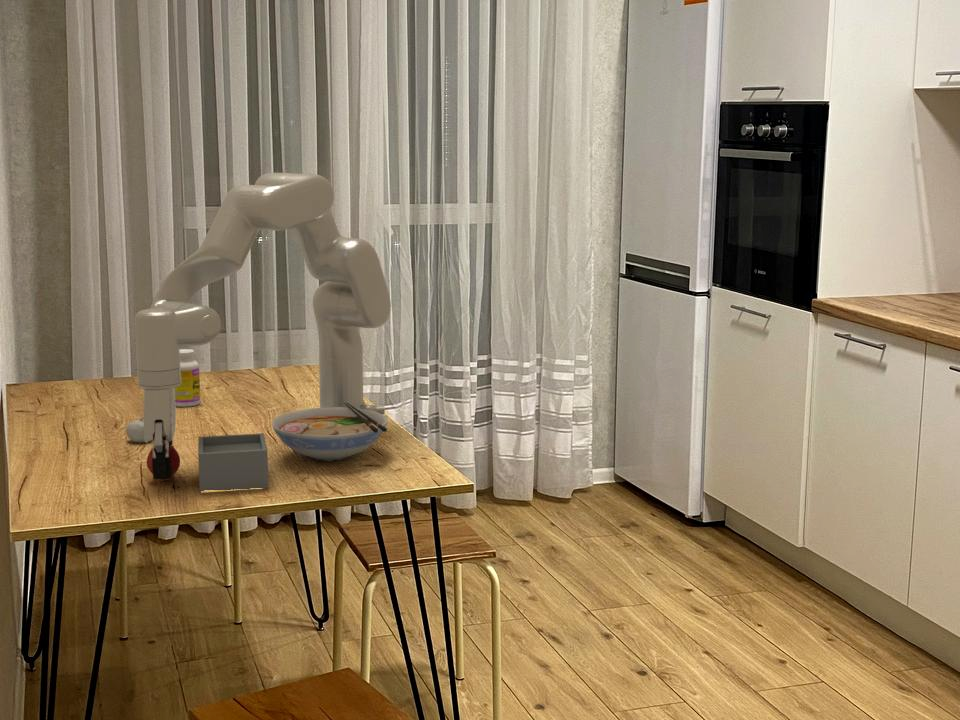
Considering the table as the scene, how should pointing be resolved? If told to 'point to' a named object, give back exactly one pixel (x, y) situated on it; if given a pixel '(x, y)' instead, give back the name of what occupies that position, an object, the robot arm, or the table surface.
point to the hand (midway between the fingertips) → (164, 472)
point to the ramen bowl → (330, 431)
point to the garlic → (136, 430)
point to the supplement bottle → (188, 380)
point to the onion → (172, 453)
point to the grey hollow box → (233, 462)
